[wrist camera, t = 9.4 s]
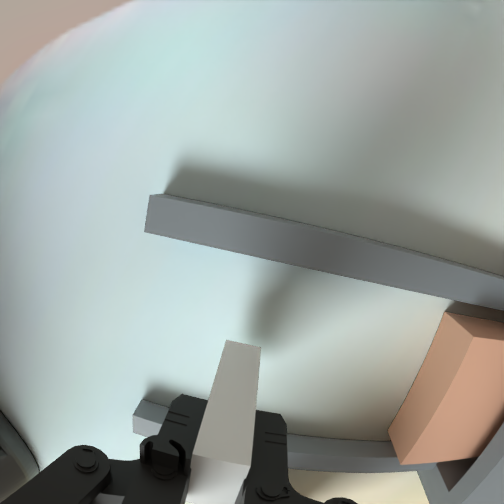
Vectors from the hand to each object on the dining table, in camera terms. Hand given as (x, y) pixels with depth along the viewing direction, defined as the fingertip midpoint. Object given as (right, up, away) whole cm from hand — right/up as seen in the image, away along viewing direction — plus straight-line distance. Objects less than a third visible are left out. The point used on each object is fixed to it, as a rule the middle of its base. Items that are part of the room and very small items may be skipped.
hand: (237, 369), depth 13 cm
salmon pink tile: (+16, -3, +1) cm, 17 cm away
